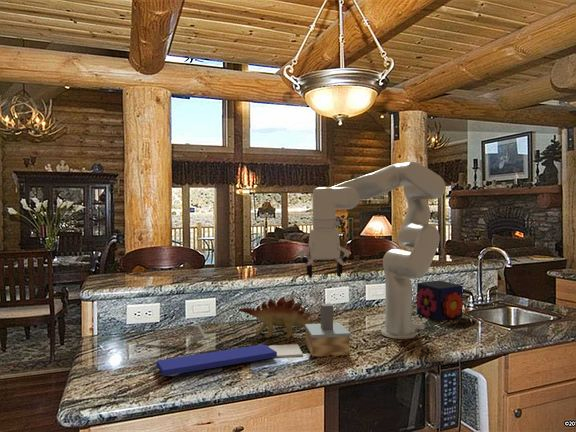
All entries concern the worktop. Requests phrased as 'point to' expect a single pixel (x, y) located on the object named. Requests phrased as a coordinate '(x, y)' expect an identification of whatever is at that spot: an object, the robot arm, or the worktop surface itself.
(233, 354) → the long blue plank
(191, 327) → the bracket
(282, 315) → the toy
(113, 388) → the worktop surface
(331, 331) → the lid
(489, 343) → the worktop surface
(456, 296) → the decorative cube
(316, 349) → the pine box
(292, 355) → the mat
